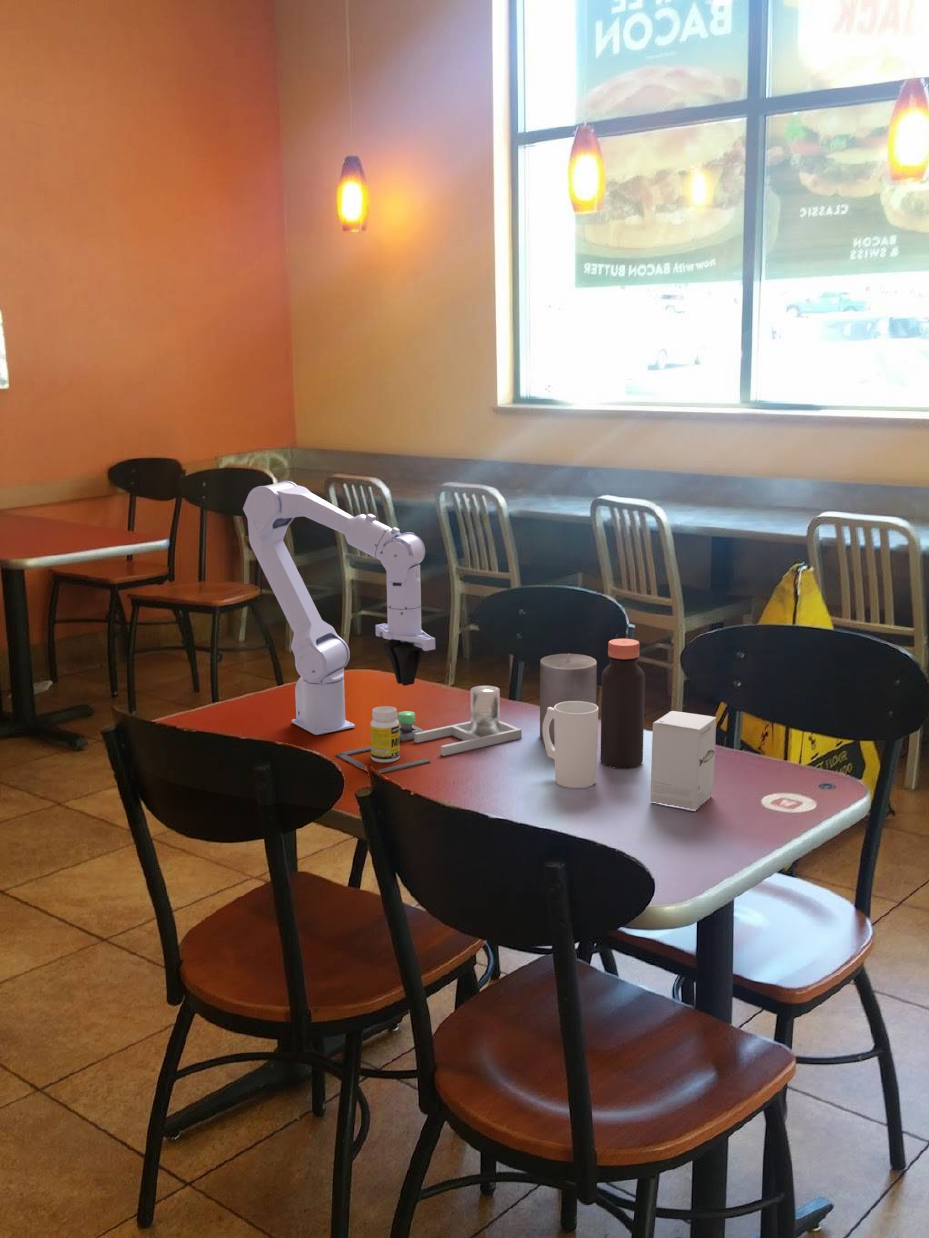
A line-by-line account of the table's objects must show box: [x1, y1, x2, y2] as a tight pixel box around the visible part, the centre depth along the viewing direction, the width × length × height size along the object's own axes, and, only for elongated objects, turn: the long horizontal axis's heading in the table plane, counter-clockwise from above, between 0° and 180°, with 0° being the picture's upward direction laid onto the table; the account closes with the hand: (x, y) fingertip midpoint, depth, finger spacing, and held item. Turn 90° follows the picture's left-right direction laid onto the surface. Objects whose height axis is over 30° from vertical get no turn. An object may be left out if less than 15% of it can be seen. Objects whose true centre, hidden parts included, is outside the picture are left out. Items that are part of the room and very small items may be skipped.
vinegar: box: [600, 638, 646, 769], centre depth 197 cm, size 7×7×20 cm
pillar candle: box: [539, 652, 598, 746], centre depth 210 cm, size 10×10×15 cm
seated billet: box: [470, 685, 501, 737], centre depth 212 cm, size 5×5×8 cm
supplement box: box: [649, 710, 717, 809], centre depth 181 cm, size 7×7×13 cm
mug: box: [542, 701, 600, 789], centre depth 191 cm, size 10×7×12 cm, turn 45°
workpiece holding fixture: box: [413, 720, 522, 757], centre depth 211 cm, size 9×16×2 cm, turn 124°
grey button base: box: [399, 724, 425, 742], centre depth 213 cm, size 4×4×1 cm
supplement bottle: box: [369, 705, 401, 763], centre depth 201 cm, size 5×5×8 cm
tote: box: [335, 745, 431, 774], centre depth 202 cm, size 12×11×1 cm
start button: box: [397, 710, 416, 731], centre depth 213 cm, size 3×3×3 cm
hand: (405, 683), depth 212 cm, fingers closed
